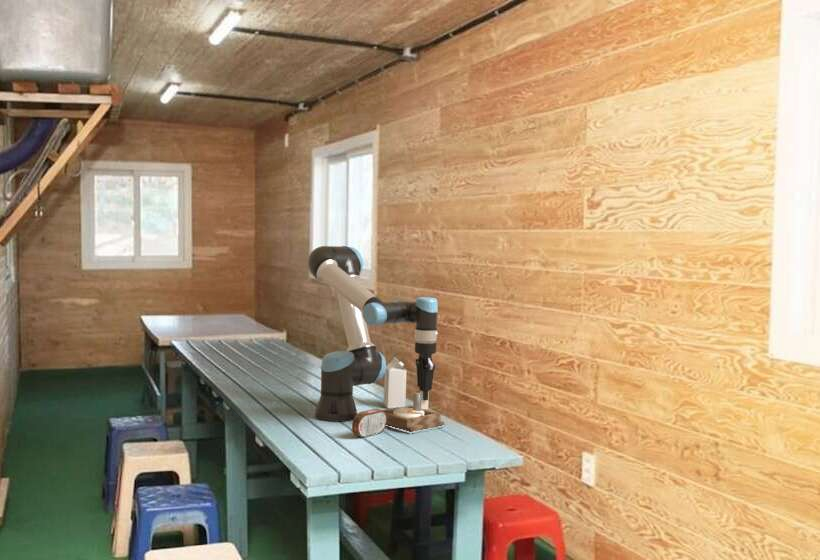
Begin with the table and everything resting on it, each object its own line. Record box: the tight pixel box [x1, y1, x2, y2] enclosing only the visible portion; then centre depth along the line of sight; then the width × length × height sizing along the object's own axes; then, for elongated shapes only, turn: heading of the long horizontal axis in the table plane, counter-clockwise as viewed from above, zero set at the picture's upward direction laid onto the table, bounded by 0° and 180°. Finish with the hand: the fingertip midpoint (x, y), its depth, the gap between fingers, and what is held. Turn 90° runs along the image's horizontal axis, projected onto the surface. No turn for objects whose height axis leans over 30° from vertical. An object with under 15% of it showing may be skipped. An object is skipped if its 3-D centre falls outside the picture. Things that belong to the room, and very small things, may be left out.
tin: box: [351, 408, 387, 438], centre depth 254 cm, size 15×3×8 cm, turn 141°
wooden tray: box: [381, 405, 445, 432], centre depth 270 cm, size 16×20×5 cm
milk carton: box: [383, 356, 407, 409], centre depth 298 cm, size 7×7×19 cm
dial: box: [393, 392, 424, 418], centre depth 270 cm, size 11×11×8 cm
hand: (423, 408), depth 267 cm, fingers closed
